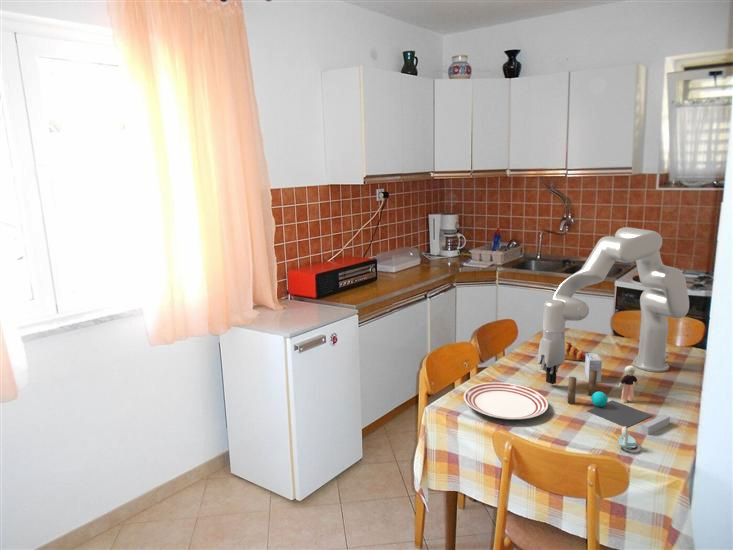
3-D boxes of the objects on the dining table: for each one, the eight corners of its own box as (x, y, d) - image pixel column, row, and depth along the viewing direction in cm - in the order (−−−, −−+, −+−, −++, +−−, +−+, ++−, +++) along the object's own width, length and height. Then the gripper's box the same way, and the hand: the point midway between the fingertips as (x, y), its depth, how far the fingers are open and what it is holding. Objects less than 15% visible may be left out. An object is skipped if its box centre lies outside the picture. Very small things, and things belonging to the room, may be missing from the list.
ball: (607, 389, 182) (613, 403, 180) (596, 392, 186) (602, 406, 184) (596, 391, 180) (602, 406, 178) (586, 394, 184) (591, 409, 182)
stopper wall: (663, 421, 171) (663, 414, 171) (669, 423, 170) (670, 416, 169) (641, 432, 165) (642, 424, 164) (647, 434, 163) (648, 427, 163)
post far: (570, 400, 187) (571, 376, 185) (576, 403, 185) (578, 378, 183) (565, 402, 186) (567, 377, 184) (571, 404, 184) (573, 379, 182)
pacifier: (640, 445, 158) (618, 439, 161) (643, 425, 157) (620, 420, 159) (639, 456, 152) (616, 451, 155) (642, 436, 150) (618, 431, 153)
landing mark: (612, 400, 186) (612, 400, 186) (652, 415, 175) (652, 415, 175) (586, 411, 179) (586, 410, 179) (626, 427, 168) (627, 427, 167)
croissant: (535, 359, 236) (532, 346, 232) (545, 344, 241) (542, 330, 237) (584, 371, 221) (581, 356, 217) (593, 354, 227) (590, 340, 223)
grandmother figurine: (625, 405, 183) (628, 369, 180) (615, 401, 186) (618, 365, 184) (640, 400, 186) (643, 365, 184) (630, 396, 190) (633, 361, 187)
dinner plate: (562, 406, 183) (563, 397, 183) (520, 435, 165) (520, 425, 164) (492, 384, 203) (492, 376, 202) (447, 407, 184) (447, 398, 183)
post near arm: (590, 392, 193) (592, 368, 191) (596, 395, 191) (598, 370, 189) (586, 394, 192) (588, 370, 190) (592, 396, 190) (594, 372, 188)
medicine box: (600, 382, 202) (602, 360, 200) (588, 382, 203) (589, 359, 201) (596, 374, 209) (597, 353, 208) (584, 374, 210) (585, 352, 209)
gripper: (558, 328, 202) (555, 374, 206) (530, 335, 194) (528, 384, 198) (575, 333, 196) (572, 381, 200) (548, 341, 188) (545, 391, 192)
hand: (550, 382), depth 199 cm, fingers closed
